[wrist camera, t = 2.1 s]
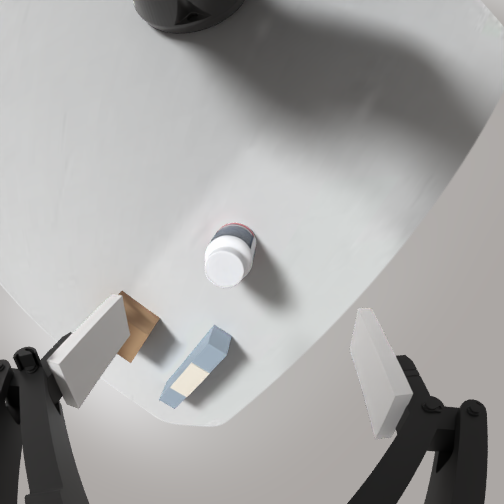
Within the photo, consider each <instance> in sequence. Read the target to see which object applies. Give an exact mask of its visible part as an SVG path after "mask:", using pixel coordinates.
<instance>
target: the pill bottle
mask: <svg viewBox="0 0 504 504" xmlns="http://www.w3.org/2000/svg"><path fill="white" fill-rule="evenodd" d="M255 250H256V238H255V235H254V233H253V232H252V230H251V229H250V228H249V227H247V226H246V225H244V224H241V223H228V224H226V225H224V226H222V227H221V228H220V229H219V230H218V232H217V233H216V235H215V236H214V237H213V239H212V240H211V242H210V243H209V245H208V247H207V249H206V251H205V274H206V276H207V278H208V279H209V281H210V282H211V283H213V284H214V285H216V286H218V287H221V288H230V287H233V286H236V285H237V284H238V283H239V282H240V281H241V280H242V278H244V277H245V276H246V275H247V274H248V273H249V271H250V270H251V267H252V264H253V259H254V255H255Z"/></svg>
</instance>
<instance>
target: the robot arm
mask: <svg viewBox="0 0 504 504" xmlns="http://www.w3.org/2000/svg"><path fill="white" fill-rule="evenodd" d="M243 2H244V0H133V3H134V6H135V9H136V11H137V12H138V14H139V15H140V16H141V17H142V18H143V19H144V20H145V21H146V22H147V23H148V24H150V25H151V26H153V27H154V28H156V29H158V30H161V31H165V32H170V33H189V32H195V31H199V30H203V29H206V28H209V27H211V26H213V25H216V24H218V23H219V22H221V21H223V20H225V19H226V18H228V17H229V16H230V15H232V14H233V13H234V12H235V11H236V10H237V9H238V8H239V7H240V6H241V5H242V3H243ZM129 336H130V332H129V327H128V322H127V318H126V313H125V307H124V302H123V297H122V295H114V294H111V295H110V296H109V297H108V298H107V299H106V300H105V301H104V302H103V303H102V304H101V305H100V306H99V307H98V308H97V309H96V310H95V311H94V312H93V313H92V314H91V315H90V316H89V317H88V318H87V319H86V320H85V321H84V322H83V323H82V324H81V325H80V326H79V327H78V328H77V329H76V330H75V331H74V332H73V333H71V332H70V333H68V334H67V335H65V336H63V337H62V338H61V339H60V340H59V341H58V342H57V343H56V344H55V345H54V346H53V348H52V349H50V350H49V352H47V354H46V355H45V356H44V357H43V358H42V359H41V360H40V359H39V356H38V354H37V351H36V349H34V348H32V347H24V348H22V349H20V350H18V351H17V352H16V353H15V354H14V357H13V358H14V360H15V363H16V365H17V367H18V369H14V368H11V366H10V364H9V362H8V361H7V360H0V504H17V493H18V479H19V468H20V459H21V451H22V444H23V453H24V460H25V466H26V473H27V479H28V484H29V489H30V494H28V495H26V496H25V504H89V502H88V499H87V496H86V494H85V491H84V488H83V485H82V482H81V480H80V476H79V473H78V470H77V467H76V464H75V460H74V457H73V454H72V449H71V446H70V442H69V438H68V434H67V430H66V425H65V420H64V416H63V411H62V406H61V403H60V401H59V400H60V399H61V397H62V396H63V398H64V400H65V401H66V403H67V405H70V406H73V407H76V408H80V406H81V405H82V403H83V402H84V400H85V399H86V397H87V396H88V394H89V393H90V391H91V390H92V388H93V387H94V385H95V384H96V382H97V381H98V380H99V378H100V377H101V375H102V374H103V373H104V371H105V370H106V368H107V367H108V365H109V364H110V363H111V361H112V360H113V358H114V357H115V355H116V354H117V353H118V351H119V350H120V348H121V347H122V346H123V344H124V343H125V341H126V340H127V339H128V337H129ZM350 352H351V355H352V358H353V362H354V365H355V369H356V372H357V375H358V379H359V382H360V386H361V389H362V393H363V396H364V400H365V403H366V407H367V410H368V414H369V418H370V422H371V425H372V429H373V434H374V438H375V439H382V438H390V437H392V435H393V433H394V431H395V430H396V431H397V436H396V438H395V439H394V441H393V442H392V444H391V445H390V447H389V448H388V450H387V451H386V453H385V454H384V456H383V457H382V459H381V460H380V462H379V463H378V465H377V466H376V467H375V469H374V470H373V471H372V473H371V474H370V476H369V477H368V478H367V480H366V481H365V482H364V483H363V485H362V486H361V487H360V489H359V490H358V491H357V492H356V494H355V495H354V496H353V497H352V498H351V500H350V501H349V502H348V503H347V504H396V503H397V502H398V500H399V499H400V497H401V496H402V494H403V492H404V491H405V489H406V487H407V486H408V484H409V482H410V481H411V479H412V477H413V475H414V474H415V472H416V470H417V468H418V466H419V465H420V463H421V461H422V459H423V457H424V455H425V453H426V451H435V456H434V462H433V467H432V472H431V477H430V482H429V486H428V491H427V495H426V499H425V503H424V504H484V500H485V491H486V478H487V456H488V451H487V450H488V442H487V441H488V435H487V413H486V408H485V407H484V405H483V404H482V403H480V402H479V401H476V400H467V401H465V402H464V403H462V405H461V406H460V408H454V407H445V406H444V405H443V403H442V402H441V401H440V400H439V399H437V398H436V397H433V396H430V394H429V392H428V390H427V389H426V386H425V384H424V382H423V380H422V378H421V377H420V376H419V372H418V371H417V370H416V367H415V365H414V363H413V361H412V360H411V359H409V358H408V357H407V356H406V355H400V356H395V354H394V352H393V349H392V348H391V345H390V343H389V341H388V339H387V338H386V335H385V333H384V331H383V330H382V328H381V326H380V324H379V322H378V320H377V318H376V316H375V314H374V312H373V310H372V309H371V308H358V311H357V316H356V322H355V326H354V331H353V336H352V341H351V345H350ZM5 401H6V403H5Z"/></svg>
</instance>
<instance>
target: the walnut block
mask: <svg viewBox="0 0 504 504" xmlns="http://www.w3.org/2000/svg"><path fill="white" fill-rule="evenodd" d="M118 295H122V297H123V302H124V307H125V313H126V318H127V322H128V327H129V332H130V336H129V337H128V339H127V340H126V341H125V343H124V344H123V346H122V347H121V348H120V350H119V351H118V353H117V354H118V355H120V356H121V357H123V358H124V359H125V360H127V361H128V362H130V363H131V362H132V360H133V359H134V357H135V356H136V354H137V353H138V351H139V349H140V348H141V346H142V345H143V343H144V342H145V340H146V339H147V337H148V336H149V334H150V333H151V331H152V330H153V328H154V326H155V325H156V323H157V322H158V320H159V319H160V318H159V317H158V316H156V315H155V314H153V313H152V312H151V311H149V310H148V309H146V308H145V307H144V306H142V305H141V304H139V303H138V302H137V301H135V300H134V299H133V298H131V297H130V296H129V295H127V294H126V293H125V292H123V291H121V292H120V293H119V294H118Z"/></svg>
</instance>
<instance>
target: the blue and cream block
mask: <svg viewBox="0 0 504 504" xmlns="http://www.w3.org/2000/svg"><path fill="white" fill-rule="evenodd" d="M230 340H231V335H229V334H228V333H226V332H225V331H223V330H221V329H220V328H218V327H217V326H215V325H214V326H213V327H212V328H211V330H210V331H209V332H208V333H207V334H206V336H205V337H204V338H203V339H202V340H201V342H200V343H199V344H198V345H197V347H196V348H195V349H194V350H193V351H192V353H191V354H190V355H189V356H188V357H187V359H186V360H185V361H184V362H183V363H182V365H181V366H180V367H179V368H178V369H177V371H176V372H175V373H174V374H173V375H172V377H171V378H170V379H169V380H168V381H167V383H166V385H165V387H164V390H163V392H162V394H161V396H160V399H159V400H160V401H162V402H164V403H165V404H167V405H169V406H171V407H172V408H174V409H175V408H176V407H177V406H178V405H179V404H180V403H181V402H182V401H183V400H184V399H185V398H186V397H188V396H189V395H190V394H191V393H192V392H193V391H194V389H195V388H196V387H197V386H198V385H199V384H200V383H201V382H202V381H203V380H204V379H205V378H206V377H207V376H208V375H209V374H210V372H211V371H212V370H213V369H214V368H215V367H216V366H217V365H218V364H219V363H220V362H221V361H222V360H223V359H224V358H225V356H226V355H227V353H228V349H229V344H230Z"/></svg>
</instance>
